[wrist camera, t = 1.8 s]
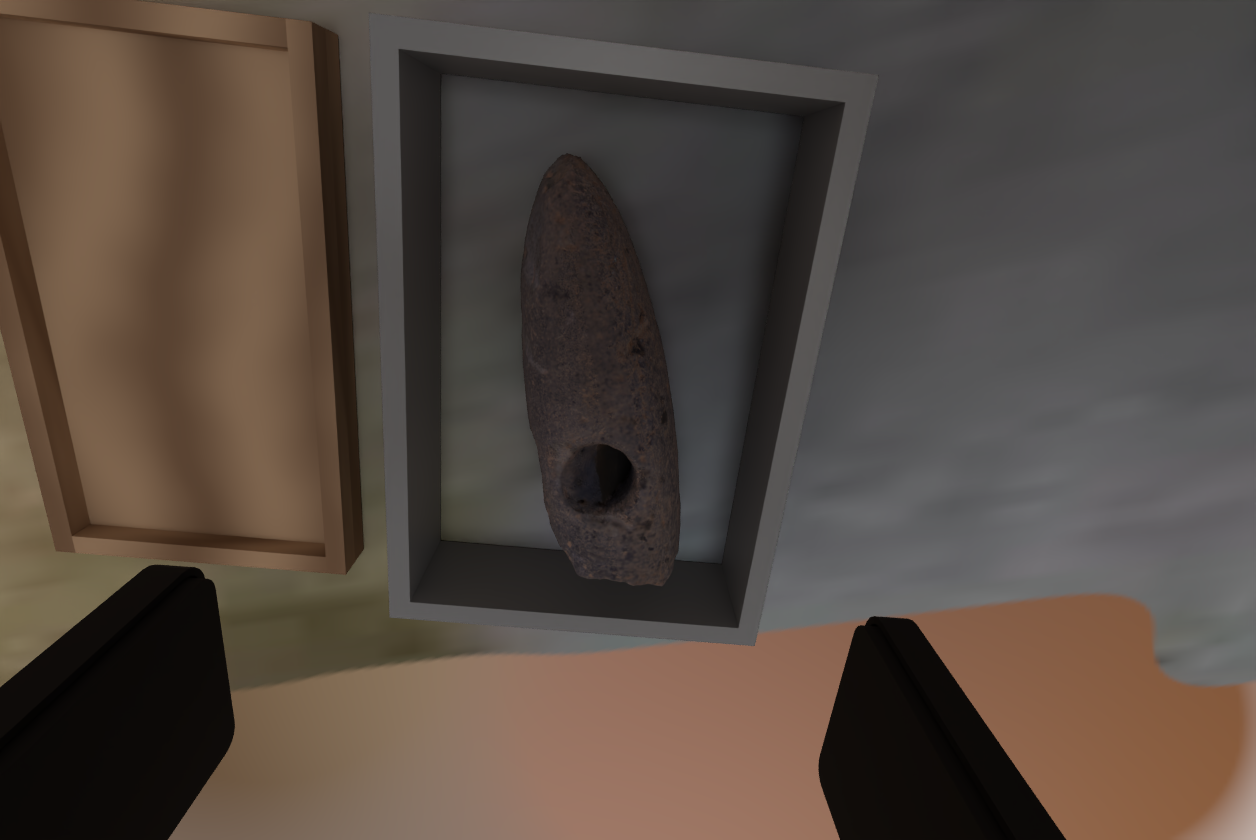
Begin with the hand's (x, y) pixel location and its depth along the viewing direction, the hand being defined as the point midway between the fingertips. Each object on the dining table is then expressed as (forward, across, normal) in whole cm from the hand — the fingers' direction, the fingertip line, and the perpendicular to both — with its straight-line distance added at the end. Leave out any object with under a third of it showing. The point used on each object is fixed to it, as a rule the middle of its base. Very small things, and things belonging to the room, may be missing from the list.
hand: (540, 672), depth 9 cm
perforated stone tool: (+18, -1, 0) cm, 18 cm away
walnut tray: (+18, +15, 0) cm, 24 cm away
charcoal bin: (+18, -1, 0) cm, 18 cm away
